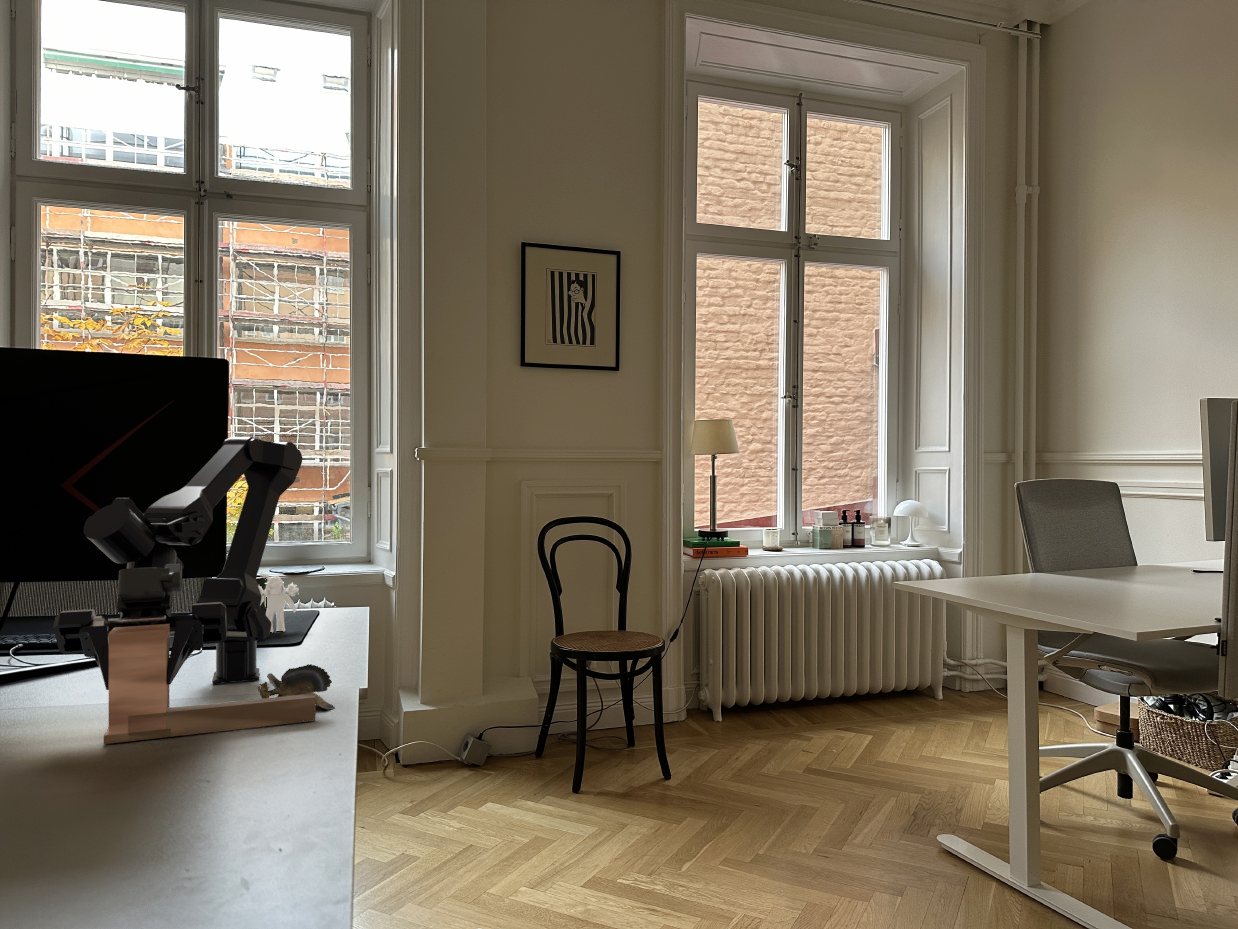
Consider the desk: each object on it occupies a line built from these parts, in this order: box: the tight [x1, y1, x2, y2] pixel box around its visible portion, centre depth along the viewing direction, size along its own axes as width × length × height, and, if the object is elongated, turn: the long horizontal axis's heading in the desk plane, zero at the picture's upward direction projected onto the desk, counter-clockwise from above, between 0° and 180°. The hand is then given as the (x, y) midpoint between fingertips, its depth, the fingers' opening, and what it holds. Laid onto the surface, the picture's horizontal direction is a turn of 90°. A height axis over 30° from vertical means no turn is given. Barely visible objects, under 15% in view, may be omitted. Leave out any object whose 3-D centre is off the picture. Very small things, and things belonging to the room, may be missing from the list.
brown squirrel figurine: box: [257, 663, 336, 711], centre depth 113 cm, size 8×7×9 cm
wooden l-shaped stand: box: [103, 624, 316, 745], centre depth 108 cm, size 10×24×13 cm, turn 113°
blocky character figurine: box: [258, 572, 300, 633], centre depth 168 cm, size 9×4×12 cm, turn 116°
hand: (138, 685), depth 101 cm, fingers closed on wooden l-shaped stand, 6 cm apart
